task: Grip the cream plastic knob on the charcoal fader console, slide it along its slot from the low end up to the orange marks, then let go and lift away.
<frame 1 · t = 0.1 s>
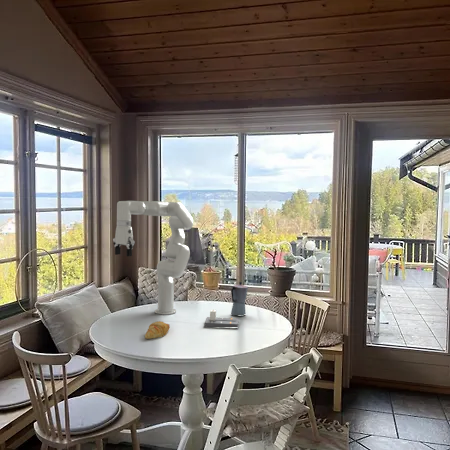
hand: (123, 255, 250), 37 cm above the table, tool pointing down, fingers open, 9 cm apart
fader knob: (213, 316, 253), point 4 cm above the table, slide at -5.0 cm
moka pot: (238, 315, 275), on the table
croissant: (157, 335, 233), on the table
fader console: (221, 325, 253), on the table
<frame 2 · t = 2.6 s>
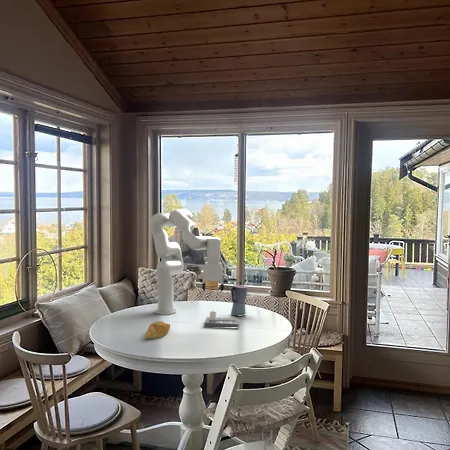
hand: (212, 290, 252), 19 cm above the table, tool pointing down, fingers open, 9 cm apart
nothing on the table moved.
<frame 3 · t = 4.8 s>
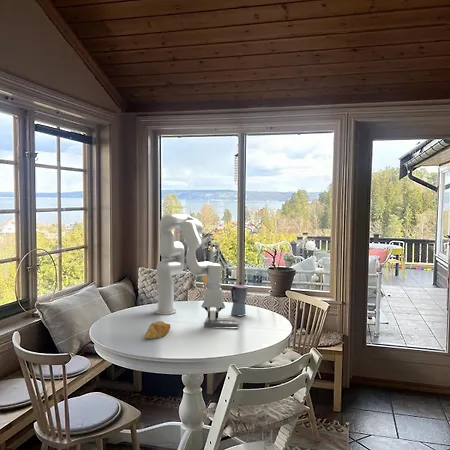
hand: (212, 318, 253), 3 cm above the table, tool pointing down, fingers closed on fader knob, 3 cm apart
fader knob: (213, 316, 253), point 4 cm above the table, slide at -5.0 cm, touching gripper
everything else where it was.
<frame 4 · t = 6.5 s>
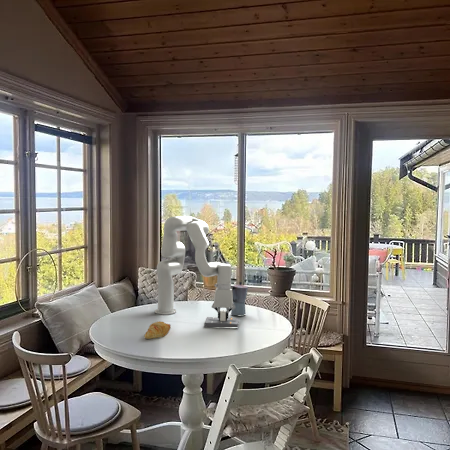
hand: (223, 319, 253), 3 cm above the table, tool pointing down, fingers closed on fader knob, 3 cm apart
fader knob: (223, 317, 253), point 4 cm above the table, slide at 0.6 cm, touching gripper
everything else where it was.
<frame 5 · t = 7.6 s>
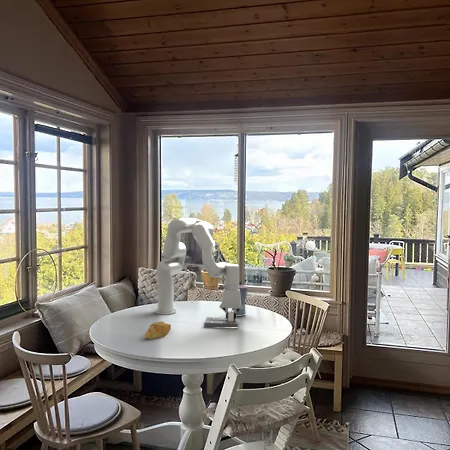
hand: (230, 319, 253), 3 cm above the table, tool pointing down, fingers closed on fader knob, 3 cm apart
fader knob: (230, 317, 253), point 4 cm above the table, slide at 4.9 cm, touching gripper
everything else where it was.
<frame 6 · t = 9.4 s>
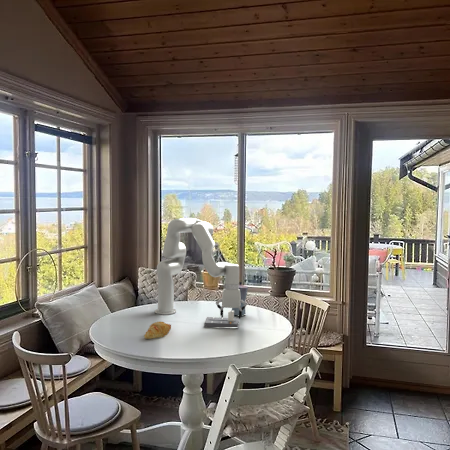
hand: (230, 317, 253), 4 cm above the table, tool pointing down, fingers open, 9 cm apart
fader knob: (231, 317, 253), point 4 cm above the table, slide at 5.0 cm
everything else where it was.
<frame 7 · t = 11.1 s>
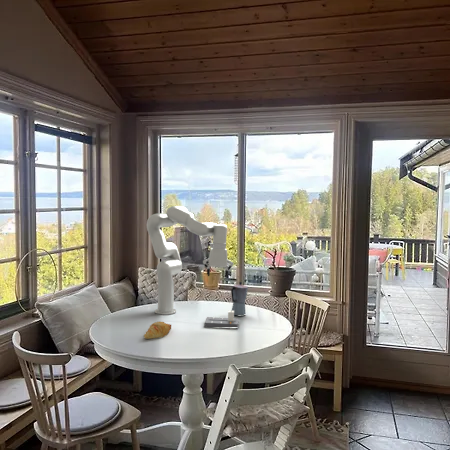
hand: (217, 276, 258), 26 cm above the table, tool pointing down, fingers open, 9 cm apart
nothing on the table moved.
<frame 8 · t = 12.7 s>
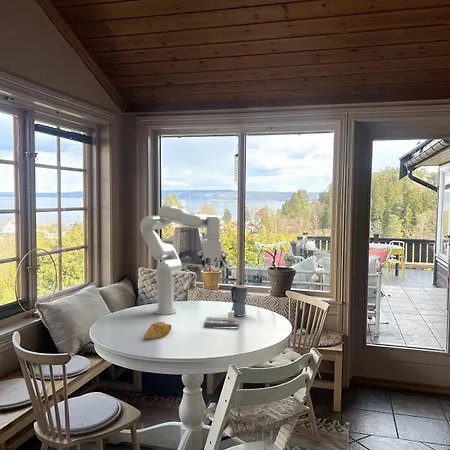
hand: (212, 267, 261), 30 cm above the table, tool pointing down, fingers open, 9 cm apart
nothing on the table moved.
at the end: fader knob slide at 5.0 cm; the gripper is holding nothing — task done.
